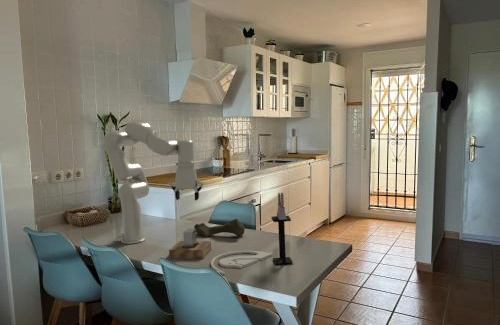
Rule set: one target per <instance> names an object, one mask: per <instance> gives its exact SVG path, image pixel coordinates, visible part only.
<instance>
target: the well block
mask: <svg viewBox="0 0 500 325" xmlns="http://www.w3.org/2000/svg"><path fill="white" fill-rule="evenodd" d="M211 250H212V241H211V240H210V241H208V240H199V241H198V240H196V247H195V248H184V240H179V241H178V242H176V243H175V244H174V245H173V246H171V247H170V248H169V249H168V256H169V258H168V259H175V260H176V259H181V260H182V259H184V260H189V259H190V260H192V259H194V260H195V259H196V260H197V259H199V260H201V259H202V260H204V259H205V257H206V256H207V255H208V254H209V253H210V252H211Z"/></svg>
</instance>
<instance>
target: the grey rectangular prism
mask: <svg viewBox="0 0 500 325" xmlns="http://www.w3.org/2000/svg"><path fill="white" fill-rule="evenodd" d="M182 234H183V241H184V248H195V247H196V241H197V235H196V234H197V233H196V229H194V228H187V229H185V230H184V231H183V232H182Z"/></svg>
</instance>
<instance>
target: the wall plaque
mask: <svg viewBox="0 0 500 325" xmlns="http://www.w3.org/2000/svg"><path fill="white" fill-rule="evenodd" d="M242 253H250V255H243V254H242ZM233 254H234V255H236V256H234V255H233ZM255 254H256V255H255ZM228 255H229V256H230V257H228ZM238 255H239V256H238ZM224 257H225V258H224ZM271 257H274V253H273V252H272V253H271V252H266V251H257V250H237V251H229V252H224V253H221V254H219V255H216V256H214V257H213V258H211V260H210V267H211V269H212V268H213V269H215V270H217V271H219V272H220V273H221V274H222V276H225V275H226V272H225V271H223V270H221V269H219V268H217V267H216V266H215V265H214V263H216V261H217V260H219V262H218V263H219V266H220V267H222V268H227V269H228V268H232V269H233V268H235V269H243V268H247V267H248V266H251V265H254V264H256V263H258V262H259V261H264V260H268V259H269V258H271ZM213 269H212V270H213ZM221 274H220V275H221Z"/></svg>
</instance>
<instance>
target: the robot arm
mask: <svg viewBox="0 0 500 325" xmlns="http://www.w3.org/2000/svg"><path fill="white" fill-rule="evenodd" d="M139 142H140V143H142V144H144V145H146V146H147V148H148V149H149V150H150V151H152V152H154V153H156V154H158V155H161V156H165V157H167V156H174V155H175V156H176V155H177V160H178V161H177V162H176V163H175V166H176V167H177V168H176V171H175V179H174V180H173V181H171V182H170V183H169V185H170V187H171V189H172V190H173V191H174V195H175V201H178V200H180V199H181V198H180V196H181V195H180V191H179V190H182V189H183V190H193V191H194V201H198V200H199V198H200V191H201V190H202V189H203V187H204V184H205V183H204V182H202V181H200V180H198V176H197V175H198V174H197V170H196V167H195V165H194V164H195V161H194V160H195V159H194V158H195V157H194V154H195V153H194V142H193V140H190V139H189V140H187V139H186V140H185V139H162V138H159V137H158V133H157V130H155V129H154V128H152V127H151V125H150V124H149V123H148V122H145V121H131V122H128V123H127V124H126V125H125V127H124V129H123V130H119V129H118V130H112V131H110V132H107V133H106V134H105V136H104V139H103V148H104V151H105V152H106V155H107V156H108V158H109V161H110V163H111V167H112V170H113V172H114V175H115V177H116V179H117V181H119V182H126V183H123V184H122V185H121V186H120V187H119V190H118V196H119V201H120V205H121V215H122V216H121V217H122V230H123V232H118V233H117V238H121V240H120V242H121V244H126V245H127V244H128V245H131V244H138V243H141V242H145V240H146V236H144V235H143V227H142V226H143V224H142V211H141V210H142V209H141V205H140V203H139V201H138V199H142V198H145V197H147V196H148V195H149V192H150V186H149V182H148V180H147V177H146V174H145V171H144V169H143V167H142V166H141V165H140V164H139V163H137V162H129V160H128V158H127V155H126V153H125V152H124V150H123V149H122V148H120V147H127V146H133V145H136V144H138V143H139ZM127 181H130V182H127ZM198 185H199V187H198Z"/></svg>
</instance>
